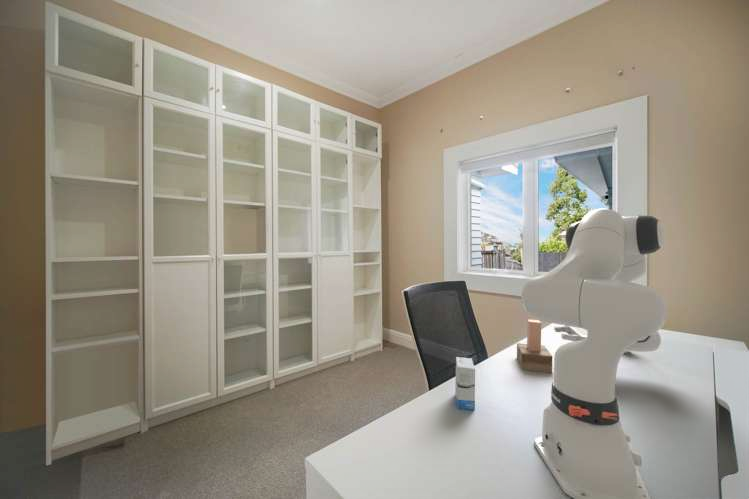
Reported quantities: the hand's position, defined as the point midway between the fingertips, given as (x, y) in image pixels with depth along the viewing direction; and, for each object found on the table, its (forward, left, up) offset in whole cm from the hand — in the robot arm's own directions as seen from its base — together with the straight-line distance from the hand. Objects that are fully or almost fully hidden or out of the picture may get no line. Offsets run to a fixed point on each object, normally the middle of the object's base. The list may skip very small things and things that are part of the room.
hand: (558, 332), depth 114 cm
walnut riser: (0, +8, -13) cm, 16 cm away
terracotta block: (0, +8, -7) cm, 11 cm away
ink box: (-37, +33, -13) cm, 52 cm away
